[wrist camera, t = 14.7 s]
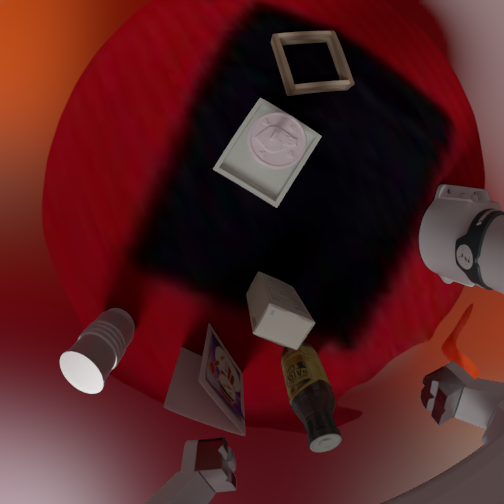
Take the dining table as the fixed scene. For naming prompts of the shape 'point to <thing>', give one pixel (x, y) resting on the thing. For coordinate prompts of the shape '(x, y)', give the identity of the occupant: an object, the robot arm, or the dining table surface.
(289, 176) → the tray
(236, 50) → the dining table surface
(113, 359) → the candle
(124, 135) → the dining table surface
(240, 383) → the greeting card
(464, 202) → the robot arm
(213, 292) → the dining table surface
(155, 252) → the dining table surface
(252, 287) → the skincare box
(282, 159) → the smoothie
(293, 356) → the sauce bottle
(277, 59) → the frame
